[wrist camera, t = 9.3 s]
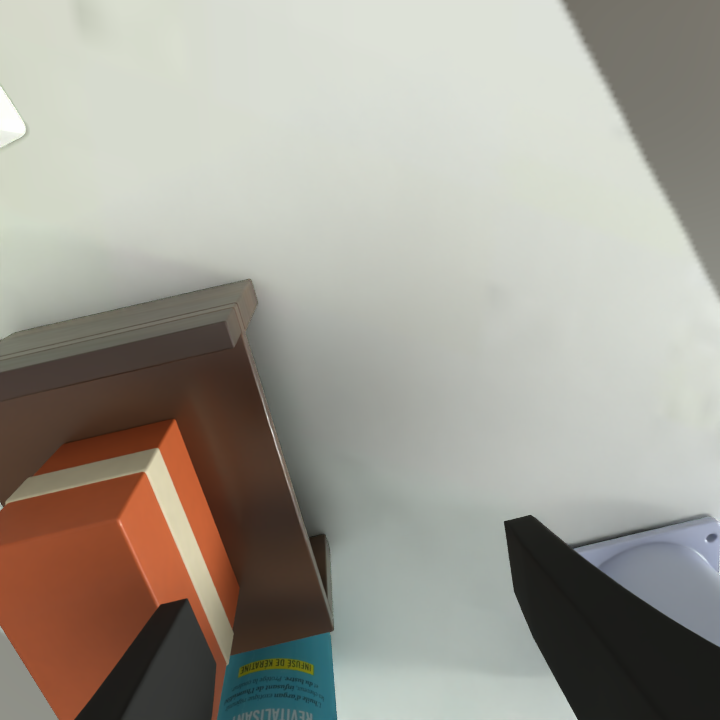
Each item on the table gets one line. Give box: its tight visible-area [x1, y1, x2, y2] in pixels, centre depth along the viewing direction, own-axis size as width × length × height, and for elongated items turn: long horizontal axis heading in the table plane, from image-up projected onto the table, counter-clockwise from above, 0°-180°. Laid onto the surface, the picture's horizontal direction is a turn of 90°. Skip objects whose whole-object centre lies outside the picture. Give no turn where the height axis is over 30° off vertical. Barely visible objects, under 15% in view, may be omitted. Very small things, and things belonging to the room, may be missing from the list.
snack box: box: [0, 419, 240, 720], centre depth 15 cm, size 7×4×5 cm, turn 12°
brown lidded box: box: [0, 279, 334, 656], centre depth 18 cm, size 13×9×6 cm
